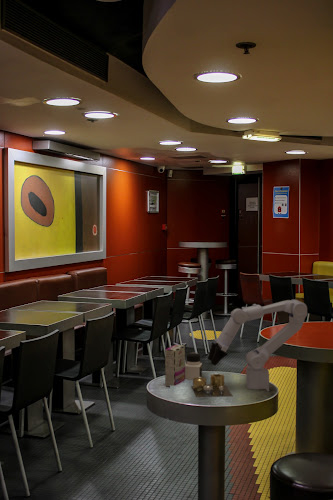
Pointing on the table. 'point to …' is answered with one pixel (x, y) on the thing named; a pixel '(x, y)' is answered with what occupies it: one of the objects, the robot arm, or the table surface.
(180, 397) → the table surface
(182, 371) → the candy bar box
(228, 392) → the plate
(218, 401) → the table surface
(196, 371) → the medicine bottle
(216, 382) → the gear
